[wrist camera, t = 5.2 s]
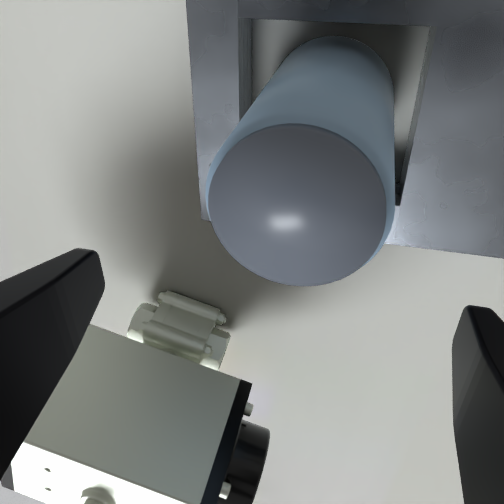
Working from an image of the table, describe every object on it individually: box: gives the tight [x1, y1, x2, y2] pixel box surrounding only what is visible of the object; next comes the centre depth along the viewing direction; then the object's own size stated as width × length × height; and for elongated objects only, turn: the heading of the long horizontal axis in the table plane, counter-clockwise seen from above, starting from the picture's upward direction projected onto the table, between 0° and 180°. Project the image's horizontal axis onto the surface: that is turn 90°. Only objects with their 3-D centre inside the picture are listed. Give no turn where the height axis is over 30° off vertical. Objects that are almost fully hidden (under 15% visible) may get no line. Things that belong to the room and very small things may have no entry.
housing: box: [186, 0, 504, 259], centre depth 17 cm, size 18×10×2 cm, turn 90°
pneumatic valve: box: [1, 290, 270, 504], centre depth 23 cm, size 6×12×12 cm, turn 75°
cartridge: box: [205, 36, 395, 286], centre depth 15 cm, size 5×5×9 cm
